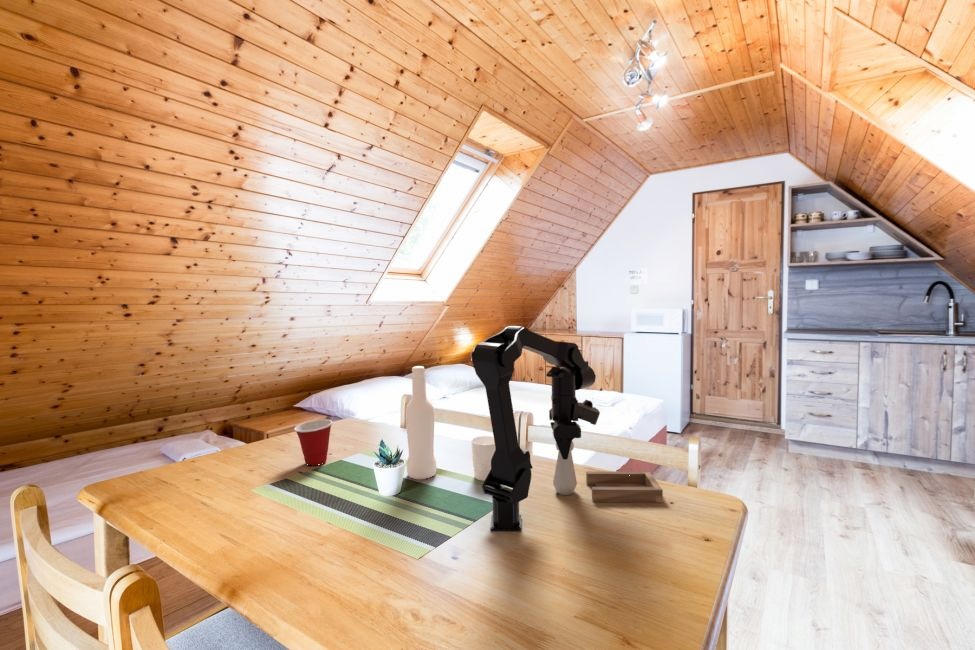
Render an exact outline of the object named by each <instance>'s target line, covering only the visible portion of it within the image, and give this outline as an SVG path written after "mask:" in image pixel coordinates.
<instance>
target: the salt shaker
mask: <svg viewBox="0 0 975 650" xmlns="http://www.w3.org/2000/svg"><path fill="white" fill-rule="evenodd" d="M574 447H575V444H574V442H573V441H572V442H571V446H570V451H569V455H568V459H563V458H562V456H561V453H560V451H559V448H558V446H557V443H555V448H556V450H557V451H558V453H557V457H556V463H555V468H554V469H555V470H554V474H553V478H552V483H553V487H554V489H555V492H556V493H557V494H559V495H561V496H570V495H572V494H573V493H574V492H575V490H576V488H577V486H578V485H577V484H578V482H577V477H576V469H575V465H574V458H573V453H572V451H573V450H574Z"/></svg>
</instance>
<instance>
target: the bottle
mask: <svg viewBox="0 0 975 650" xmlns="http://www.w3.org/2000/svg"><path fill="white" fill-rule="evenodd" d="M425 371H426V370H425V367H424V366H423V365H416V366H413V367H412V368H411V372H412V373H411V378H412V379H411V381H412V382H411V384H412V388H411V389H412V397H411V399H410V400H409V402H408V403H407V404H406V407H405V411H404V413H405V414H404V415H405V426H406V435H407V438H406V439H407V446H408V447H407V449H408V458H407V461H406V473H407V475H408V477H409V478H410V479H412V478H413V479H414V480H426V478H428V479H430V477H431V478H432V476H433V477H434V476H435V474H436V473H437V467H438V466H437V459H436V457H435V453H434V445H435V444H434V443H435V442H434V441H435V409H434V405H433V403H432V401H430V399H429V398H428V397H427V387H426V376H427V374H426V372H425Z"/></svg>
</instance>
